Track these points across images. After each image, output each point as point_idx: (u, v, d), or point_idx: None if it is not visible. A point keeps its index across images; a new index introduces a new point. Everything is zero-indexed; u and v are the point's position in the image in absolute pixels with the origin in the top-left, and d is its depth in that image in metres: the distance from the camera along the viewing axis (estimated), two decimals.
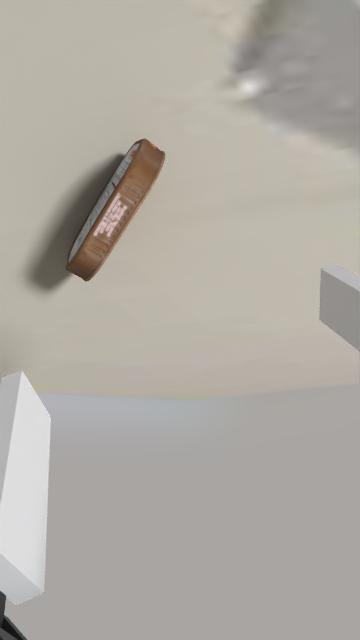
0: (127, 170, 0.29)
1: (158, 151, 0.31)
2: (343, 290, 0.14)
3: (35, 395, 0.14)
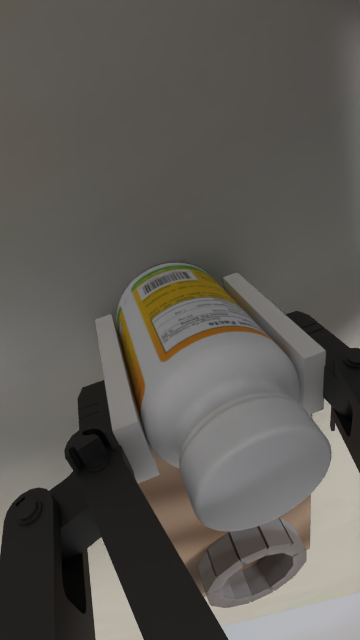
0: None
1: None
2: (237, 298, 0.15)
3: (118, 337, 0.16)
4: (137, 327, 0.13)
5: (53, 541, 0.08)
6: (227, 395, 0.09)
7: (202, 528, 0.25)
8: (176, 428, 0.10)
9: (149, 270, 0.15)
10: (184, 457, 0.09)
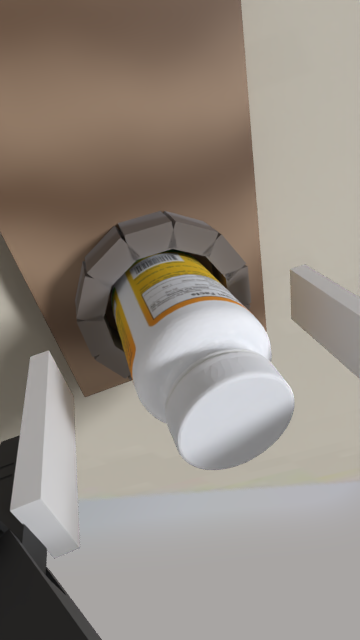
0: None
1: None
2: (309, 290, 0.14)
3: (60, 374, 0.15)
4: (129, 301, 0.14)
5: None
6: (205, 351, 0.11)
7: (61, 189, 0.15)
8: (162, 382, 0.11)
9: None
10: (168, 403, 0.11)
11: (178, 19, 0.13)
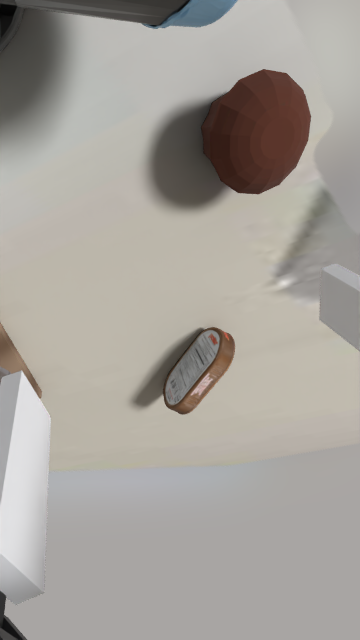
0: (214, 360, 0.48)
1: (230, 341, 0.50)
2: (343, 290, 0.14)
3: (35, 394, 0.14)
4: None
5: None
6: None
7: None
8: None
9: None
10: None
11: None
